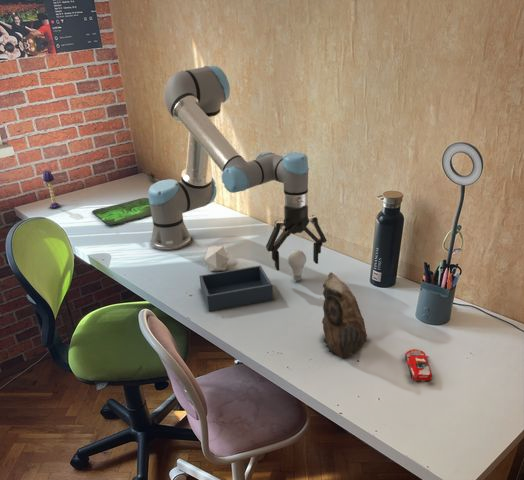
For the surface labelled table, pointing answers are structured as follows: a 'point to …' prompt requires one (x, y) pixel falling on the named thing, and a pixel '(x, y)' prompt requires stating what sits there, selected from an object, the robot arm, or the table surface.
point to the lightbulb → (297, 263)
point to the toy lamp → (50, 188)
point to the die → (217, 258)
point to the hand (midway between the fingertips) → (296, 265)
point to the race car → (418, 366)
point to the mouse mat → (124, 211)
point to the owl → (342, 319)
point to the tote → (236, 288)
